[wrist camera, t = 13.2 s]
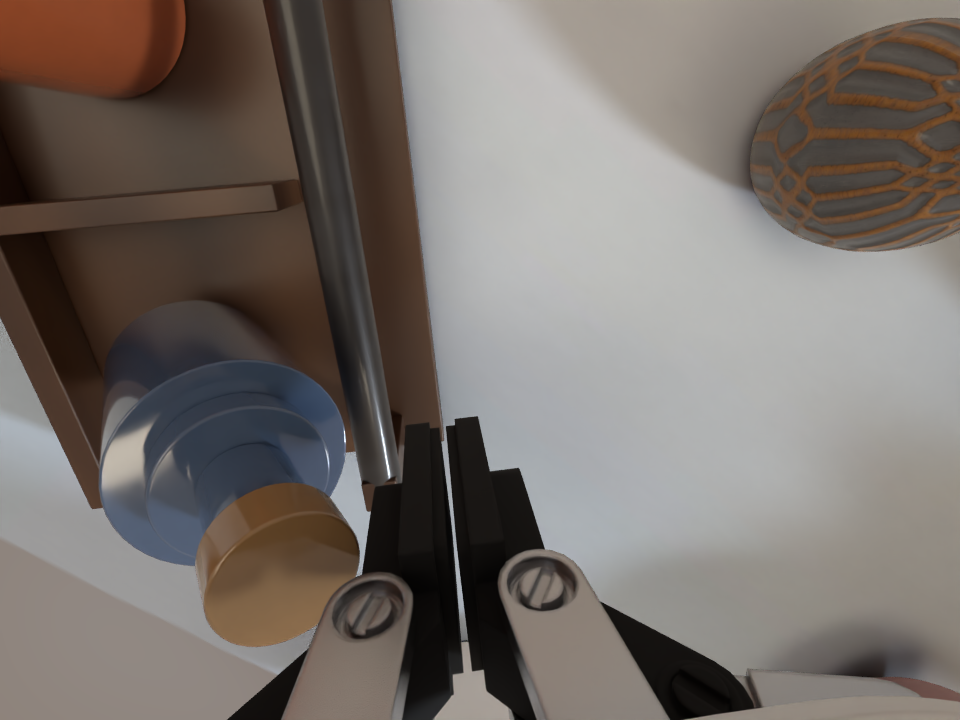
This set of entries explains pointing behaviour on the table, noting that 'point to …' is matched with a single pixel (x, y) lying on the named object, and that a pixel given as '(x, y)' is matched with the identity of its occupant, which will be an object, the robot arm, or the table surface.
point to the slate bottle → (226, 467)
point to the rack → (228, 218)
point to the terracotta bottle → (90, 45)
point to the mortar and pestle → (925, 688)
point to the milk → (471, 696)
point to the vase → (867, 141)
